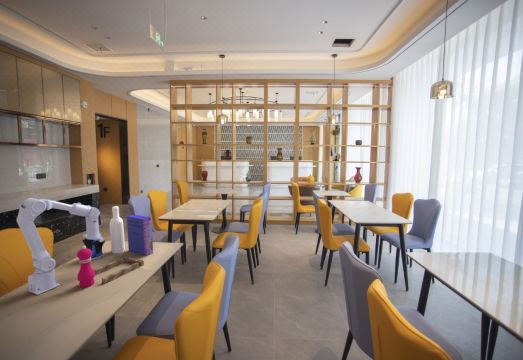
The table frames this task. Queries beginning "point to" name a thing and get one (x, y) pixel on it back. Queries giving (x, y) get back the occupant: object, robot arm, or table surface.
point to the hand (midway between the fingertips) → (94, 252)
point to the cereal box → (140, 234)
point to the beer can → (94, 255)
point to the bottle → (117, 232)
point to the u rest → (133, 261)
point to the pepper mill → (85, 268)
